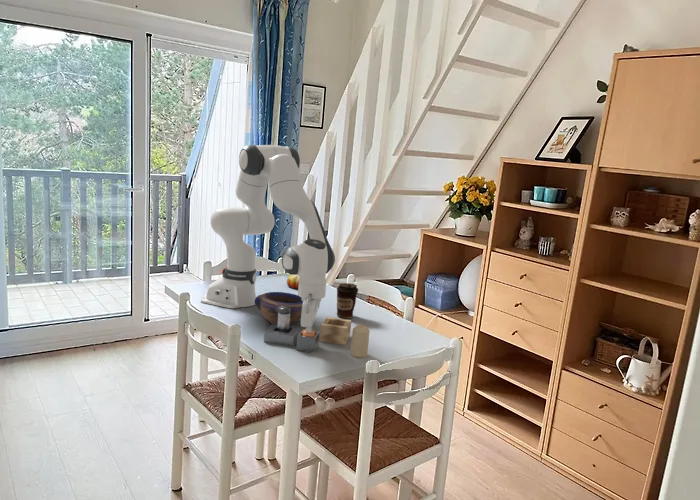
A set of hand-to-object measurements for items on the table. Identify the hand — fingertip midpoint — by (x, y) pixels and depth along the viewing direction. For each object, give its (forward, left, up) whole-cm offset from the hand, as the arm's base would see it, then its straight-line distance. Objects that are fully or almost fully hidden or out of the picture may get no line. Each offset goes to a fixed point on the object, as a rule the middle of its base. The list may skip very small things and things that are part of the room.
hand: (308, 331), depth 173 cm
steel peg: (-10, +5, -6) cm, 13 cm away
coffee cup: (+6, +38, -6) cm, 39 cm away
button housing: (0, 0, -6) cm, 6 cm away
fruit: (-22, +72, -6) cm, 76 cm away
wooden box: (+7, +12, -6) cm, 15 cm away
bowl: (-15, +22, -6) cm, 27 cm away
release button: (0, 0, -4) cm, 5 cm away
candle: (+17, +1, -6) cm, 18 cm away
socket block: (-10, +5, -6) cm, 13 cm away
